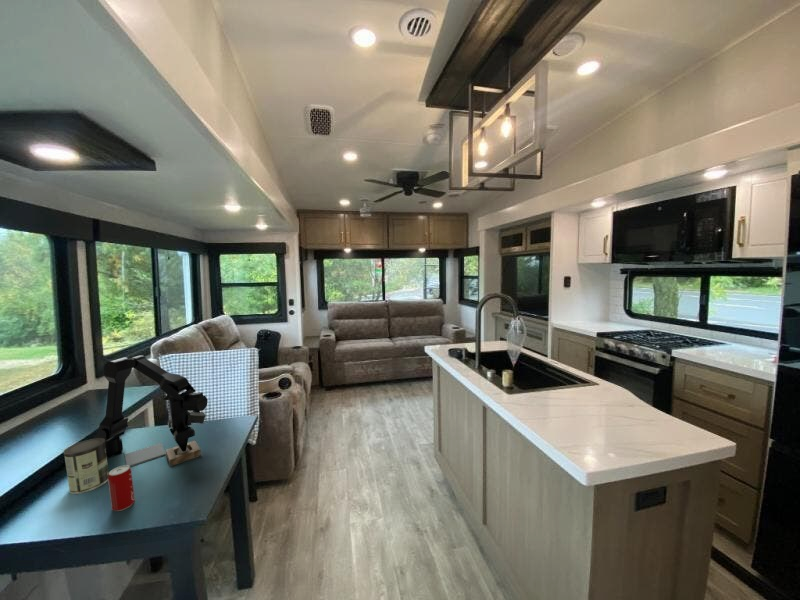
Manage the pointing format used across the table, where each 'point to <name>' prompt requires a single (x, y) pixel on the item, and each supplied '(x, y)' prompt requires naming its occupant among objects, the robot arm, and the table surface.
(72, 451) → the coffee can
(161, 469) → the table surface
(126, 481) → the soda can
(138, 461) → the grey mat
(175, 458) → the brown wooden frame
